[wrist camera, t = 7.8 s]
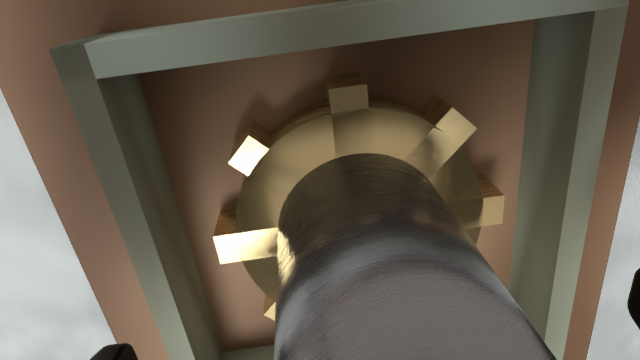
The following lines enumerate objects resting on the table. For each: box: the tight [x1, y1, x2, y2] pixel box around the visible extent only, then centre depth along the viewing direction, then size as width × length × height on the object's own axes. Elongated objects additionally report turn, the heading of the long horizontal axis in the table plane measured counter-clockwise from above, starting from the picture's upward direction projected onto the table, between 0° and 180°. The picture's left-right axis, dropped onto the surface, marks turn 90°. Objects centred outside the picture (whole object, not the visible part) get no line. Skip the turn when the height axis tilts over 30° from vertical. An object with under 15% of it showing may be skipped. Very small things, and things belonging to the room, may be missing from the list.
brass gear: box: [213, 72, 557, 360], centre depth 8 cm, size 7×7×7 cm
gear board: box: [0, 0, 640, 360], centre depth 12 cm, size 15×16×3 cm
